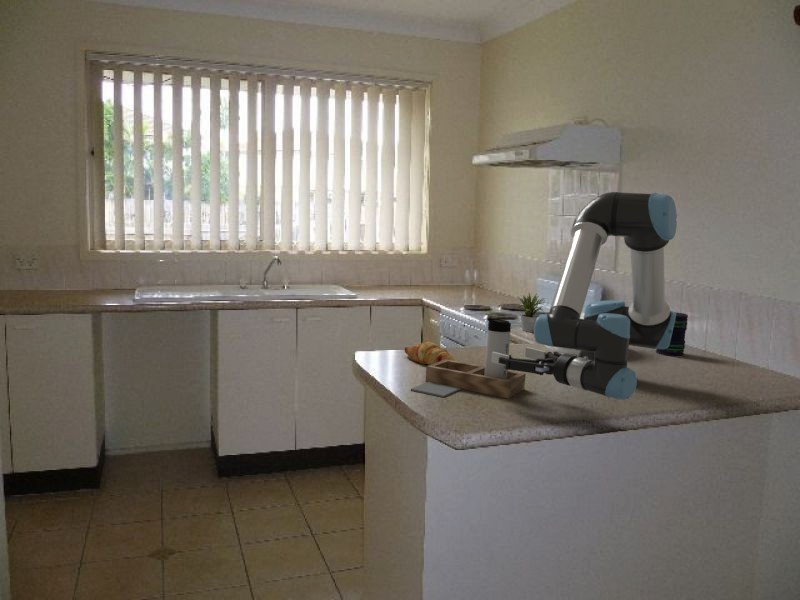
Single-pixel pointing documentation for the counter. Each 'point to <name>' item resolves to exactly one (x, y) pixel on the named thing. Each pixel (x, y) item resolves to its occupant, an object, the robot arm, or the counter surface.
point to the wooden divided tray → (474, 378)
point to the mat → (436, 389)
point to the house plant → (529, 312)
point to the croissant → (427, 353)
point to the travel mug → (497, 346)
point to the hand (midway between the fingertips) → (509, 354)
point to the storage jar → (676, 337)
